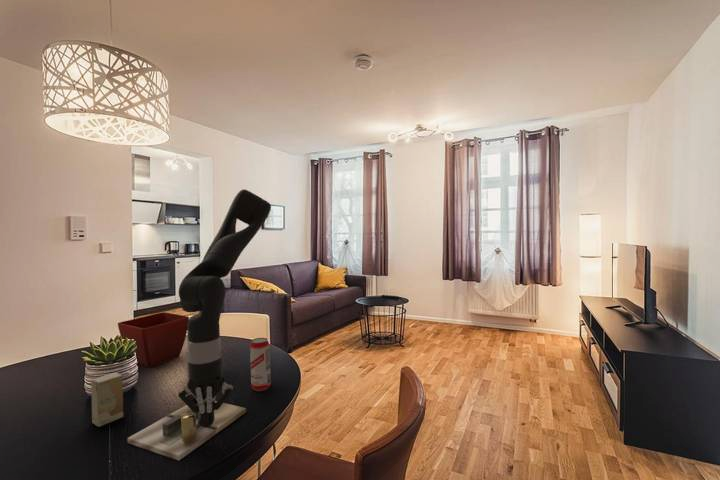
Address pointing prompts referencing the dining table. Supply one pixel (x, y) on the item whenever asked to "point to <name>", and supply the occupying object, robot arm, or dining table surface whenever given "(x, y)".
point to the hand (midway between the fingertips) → (208, 425)
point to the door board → (168, 432)
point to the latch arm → (190, 425)
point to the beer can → (260, 364)
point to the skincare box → (107, 399)
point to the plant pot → (156, 336)
